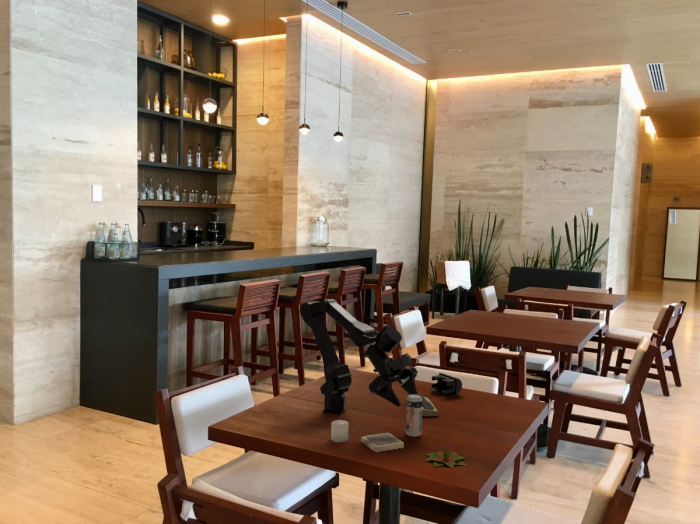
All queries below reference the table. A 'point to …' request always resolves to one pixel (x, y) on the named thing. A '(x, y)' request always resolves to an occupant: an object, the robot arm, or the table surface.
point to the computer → (428, 408)
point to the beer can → (414, 415)
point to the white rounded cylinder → (339, 431)
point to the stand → (382, 442)
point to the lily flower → (445, 458)
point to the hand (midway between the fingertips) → (408, 402)
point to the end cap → (446, 385)
